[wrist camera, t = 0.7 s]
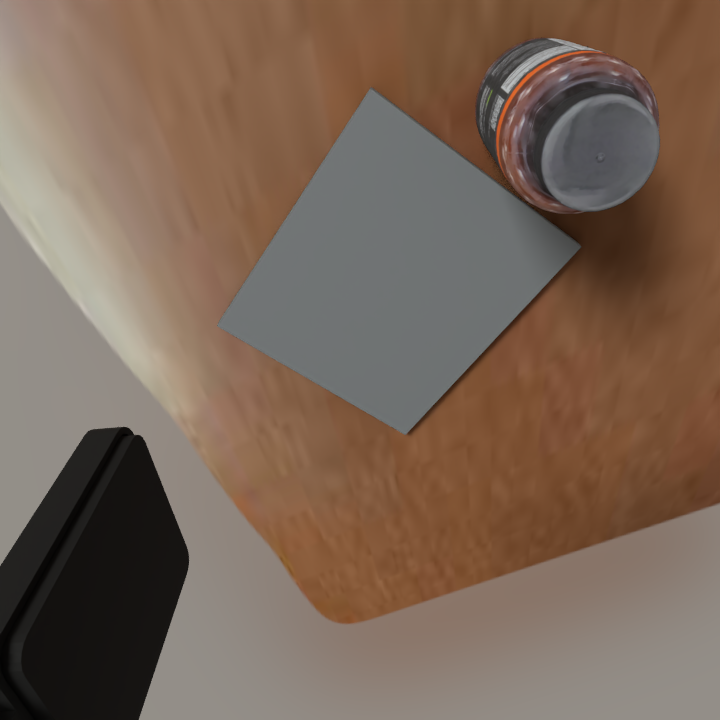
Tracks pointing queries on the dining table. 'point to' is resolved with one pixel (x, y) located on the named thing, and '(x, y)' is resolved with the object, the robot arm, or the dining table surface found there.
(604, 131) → the supplement bottle
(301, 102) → the dining table surface
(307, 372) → the mat
